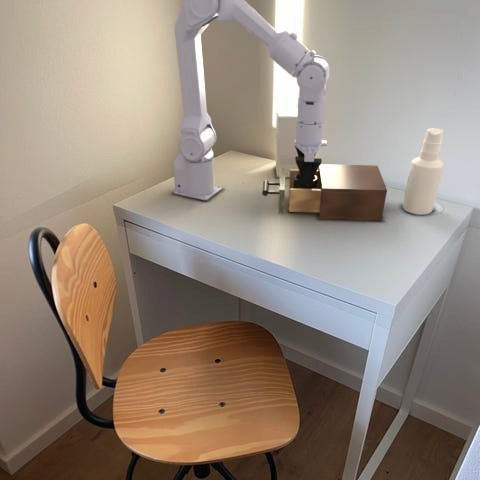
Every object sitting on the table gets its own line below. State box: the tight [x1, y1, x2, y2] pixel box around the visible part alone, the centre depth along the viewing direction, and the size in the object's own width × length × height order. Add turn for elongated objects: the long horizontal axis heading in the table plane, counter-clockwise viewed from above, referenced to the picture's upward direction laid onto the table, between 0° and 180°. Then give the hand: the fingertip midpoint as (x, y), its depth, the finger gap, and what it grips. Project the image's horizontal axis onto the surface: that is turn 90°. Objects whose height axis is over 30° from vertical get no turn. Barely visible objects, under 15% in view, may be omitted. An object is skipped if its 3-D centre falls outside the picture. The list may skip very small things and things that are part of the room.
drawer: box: [261, 168, 322, 215], centre depth 118 cm, size 17×13×6 cm
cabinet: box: [317, 163, 388, 222], centre depth 117 cm, size 14×14×7 cm
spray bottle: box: [402, 127, 445, 216], centre depth 113 cm, size 7×7×18 cm
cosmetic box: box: [275, 107, 299, 178], centre depth 132 cm, size 8×7×16 cm
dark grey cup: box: [293, 173, 317, 189], centre depth 118 cm, size 5×5×5 cm
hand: (305, 181), depth 117 cm, fingers open, 7 cm apart
